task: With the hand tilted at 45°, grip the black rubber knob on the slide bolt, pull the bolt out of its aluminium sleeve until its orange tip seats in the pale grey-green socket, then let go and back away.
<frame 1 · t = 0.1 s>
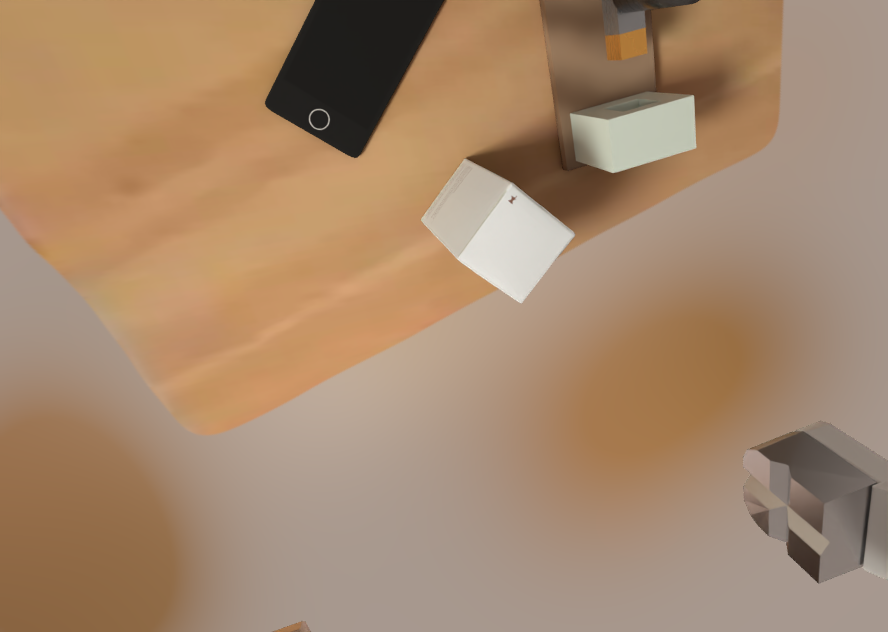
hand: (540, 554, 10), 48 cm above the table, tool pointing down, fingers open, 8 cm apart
cell phone: (360, 37, 51), on the table
supplement box: (469, 210, 59), on the table
socket: (631, 130, 55), on the base board, point 5 cm above the table
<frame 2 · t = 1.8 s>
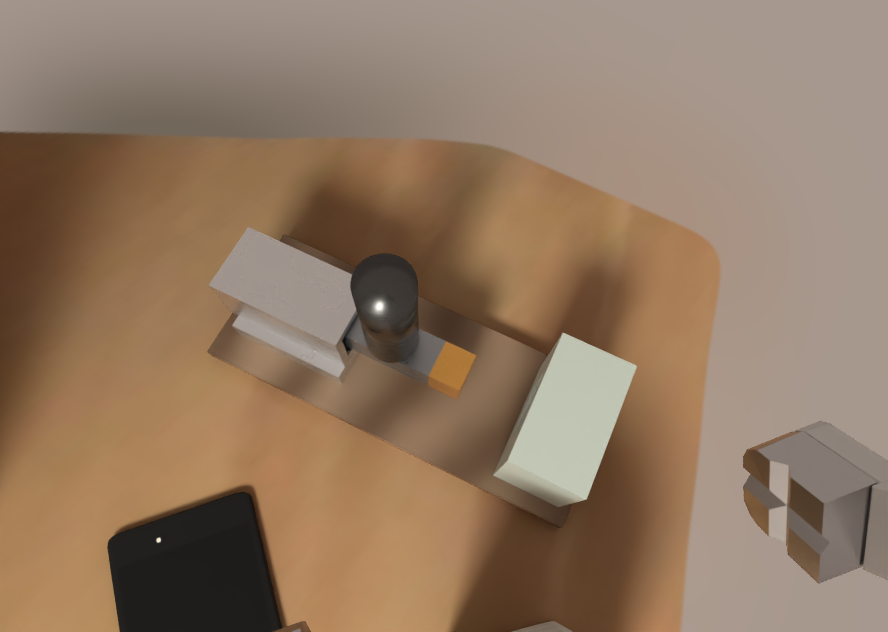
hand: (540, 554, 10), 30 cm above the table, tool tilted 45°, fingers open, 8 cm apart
base board: (365, 350, 42), on the table
slide bolt: (350, 302, 34), point 9 cm above the table, slide at 0.0 cm
sleeve: (300, 303, 39), on the base board, point 4 cm above the table
socket: (560, 424, 36), on the base board, point 5 cm above the table
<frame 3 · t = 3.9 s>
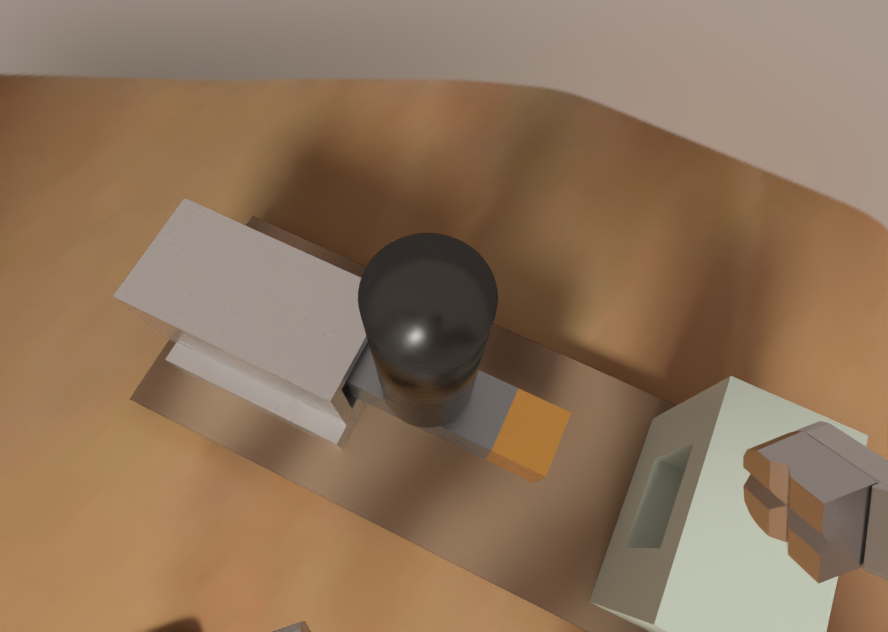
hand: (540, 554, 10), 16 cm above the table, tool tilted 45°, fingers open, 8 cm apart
base board: (377, 393, 27), on the table
slide bolt: (355, 326, 19), point 9 cm above the table, slide at 0.0 cm
sleeve: (273, 323, 24), on the base board, point 4 cm above the table
socket: (713, 527, 21), on the base board, point 5 cm above the table
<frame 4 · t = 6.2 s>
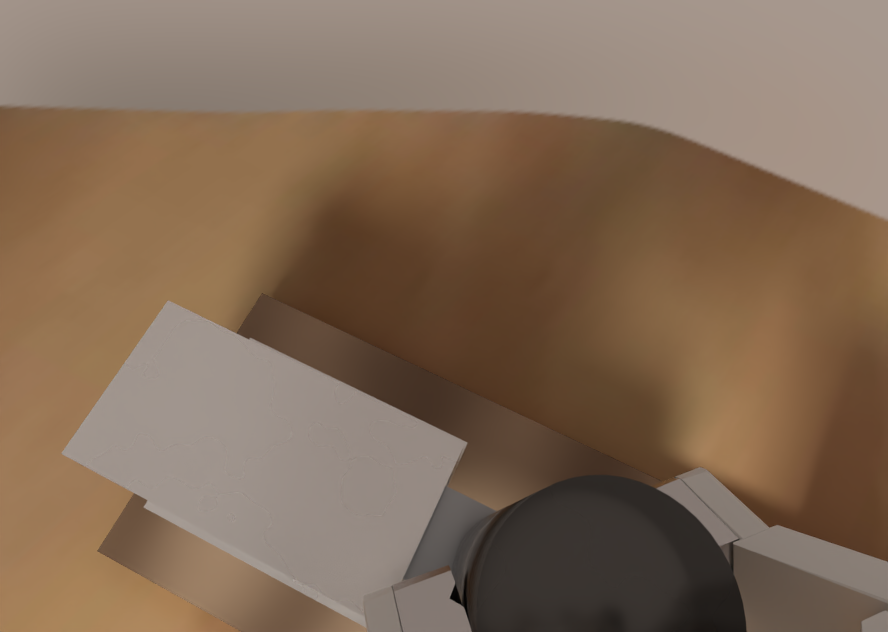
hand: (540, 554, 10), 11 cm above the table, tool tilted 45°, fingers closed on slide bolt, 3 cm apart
base board: (426, 534, 21), on the table
slide bolt: (424, 528, 12), point 9 cm above the table, slide at 0.0 cm, touching gripper
sleeve: (292, 464, 18), on the base board, point 4 cm above the table
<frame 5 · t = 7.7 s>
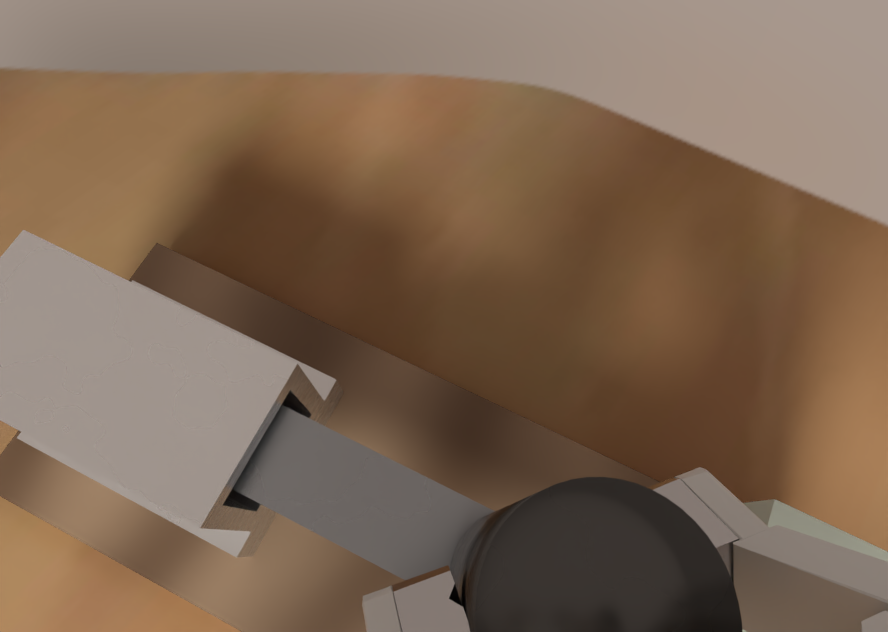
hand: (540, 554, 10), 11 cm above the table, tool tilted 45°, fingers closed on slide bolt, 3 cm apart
base board: (305, 473, 21), on the table
slide bolt: (422, 528, 12), point 9 cm above the table, slide at 4.7 cm, touching gripper
sleeve: (155, 394, 18), on the base board, point 4 cm above the table
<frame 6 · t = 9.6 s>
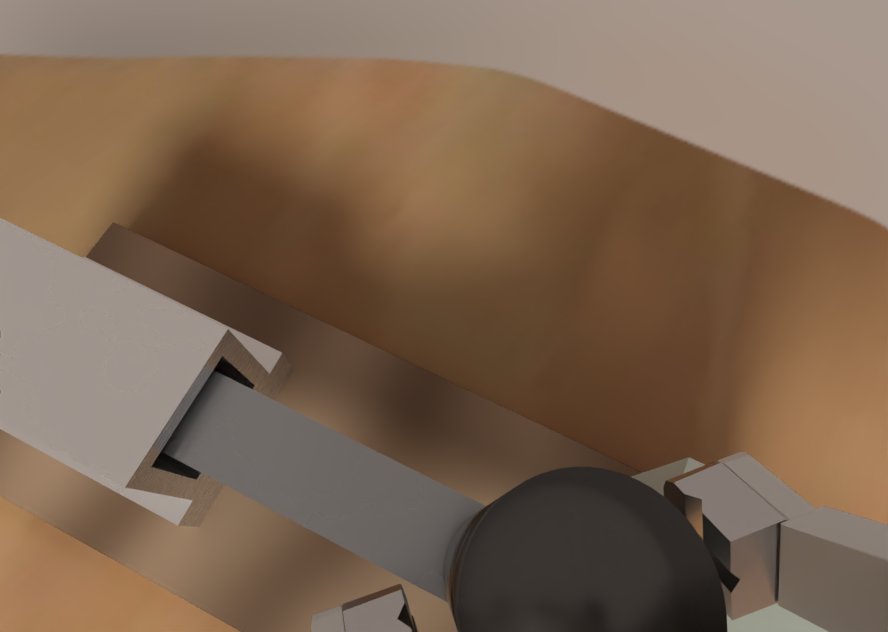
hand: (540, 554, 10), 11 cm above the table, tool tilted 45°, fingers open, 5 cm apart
base board: (256, 448, 22), on the table
slide bolt: (413, 522, 12), point 9 cm above the table, slide at 6.5 cm
sleeve: (98, 365, 18), on the base board, point 4 cm above the table
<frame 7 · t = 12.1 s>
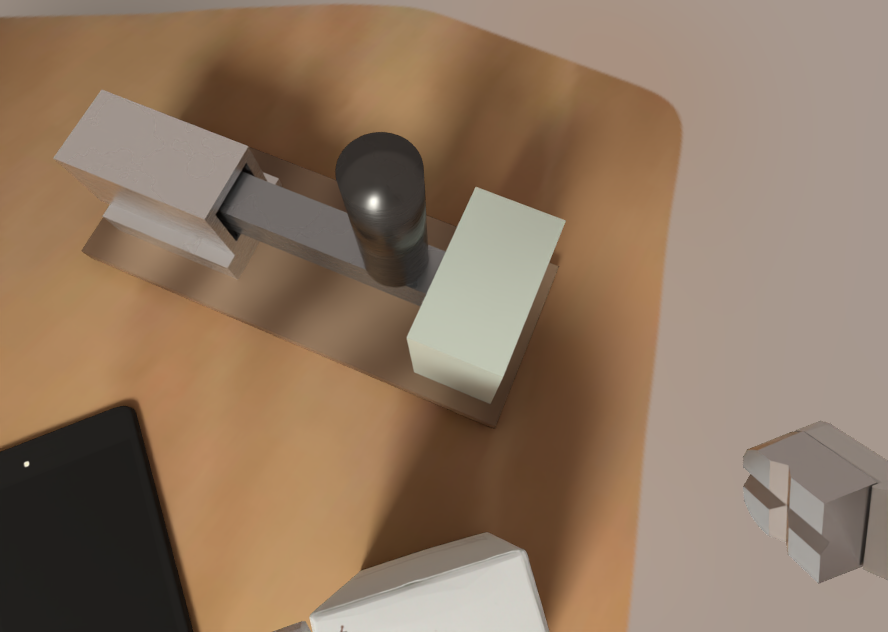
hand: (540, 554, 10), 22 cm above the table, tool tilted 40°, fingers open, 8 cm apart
cell phone: (96, 597, 31), on the table
supplement box: (444, 623, 31), on the table
base board: (267, 242, 37), on the table
slide bolt: (340, 212, 27), point 9 cm above the table, slide at 6.5 cm
sleeve: (177, 183, 33), on the base board, point 4 cm above the table
socket: (483, 302, 31), on the base board, point 5 cm above the table
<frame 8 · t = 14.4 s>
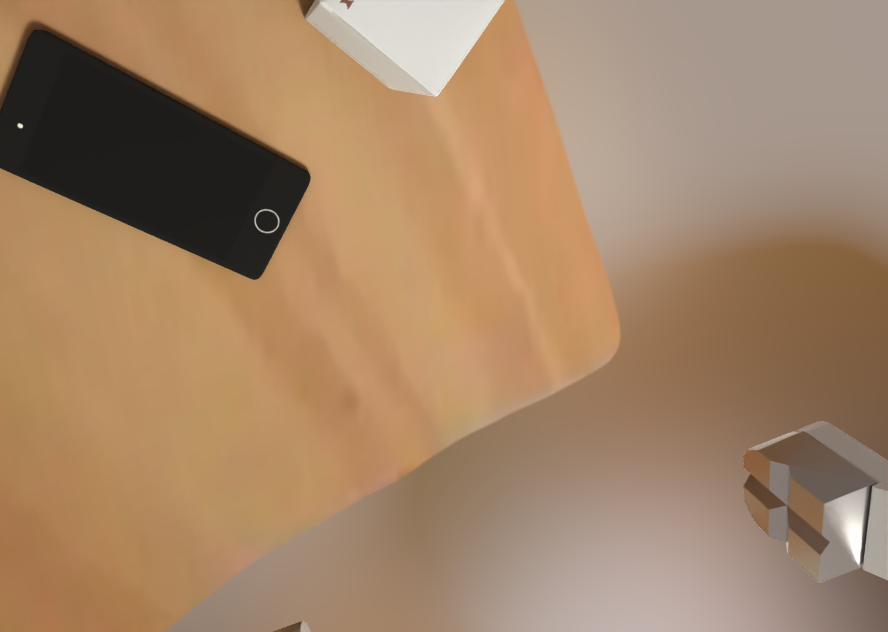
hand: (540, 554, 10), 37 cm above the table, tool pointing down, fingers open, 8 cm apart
cell phone: (161, 165, 41), on the table
supplement box: (379, 9, 40), on the table
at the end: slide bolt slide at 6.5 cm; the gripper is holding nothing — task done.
